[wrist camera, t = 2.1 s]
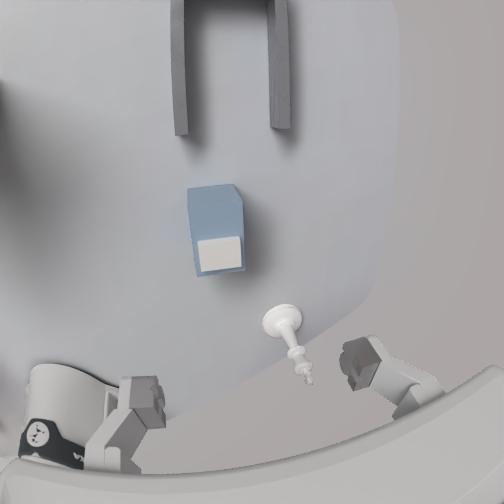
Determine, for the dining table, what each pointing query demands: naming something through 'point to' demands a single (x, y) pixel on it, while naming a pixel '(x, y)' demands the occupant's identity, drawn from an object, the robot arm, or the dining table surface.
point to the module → (216, 229)
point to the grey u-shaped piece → (277, 65)
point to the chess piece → (289, 336)
